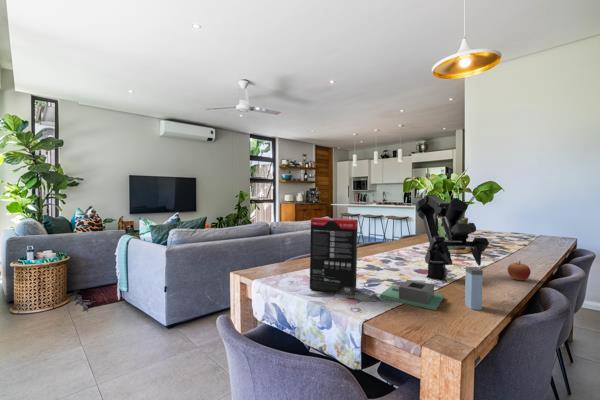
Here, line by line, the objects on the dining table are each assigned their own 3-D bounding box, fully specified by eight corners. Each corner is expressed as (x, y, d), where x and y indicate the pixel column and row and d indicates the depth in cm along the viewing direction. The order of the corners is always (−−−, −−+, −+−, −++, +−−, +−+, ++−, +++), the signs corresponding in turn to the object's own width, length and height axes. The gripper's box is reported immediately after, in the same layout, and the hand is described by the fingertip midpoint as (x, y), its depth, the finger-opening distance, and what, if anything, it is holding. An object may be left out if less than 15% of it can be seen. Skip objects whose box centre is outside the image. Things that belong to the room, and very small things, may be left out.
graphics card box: (357, 290, 109) (358, 218, 108) (354, 296, 102) (355, 219, 102) (314, 285, 115) (314, 216, 114) (308, 290, 108) (309, 218, 107)
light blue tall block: (471, 309, 91) (471, 270, 91) (464, 304, 96) (465, 266, 95) (481, 310, 91) (482, 270, 91) (475, 304, 95) (476, 267, 95)
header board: (380, 297, 101) (380, 283, 101) (392, 288, 112) (392, 274, 111) (435, 310, 91) (436, 293, 90) (443, 298, 101) (443, 283, 101)
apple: (520, 276, 128) (520, 258, 128) (535, 282, 120) (535, 263, 120) (502, 276, 128) (503, 258, 128) (516, 282, 120) (517, 263, 120)
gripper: (432, 214, 105) (443, 250, 94) (487, 215, 103) (504, 252, 92) (425, 233, 113) (434, 268, 102) (475, 234, 111) (490, 270, 100)
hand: (465, 264), depth 99 cm, fingers open, 9 cm apart
